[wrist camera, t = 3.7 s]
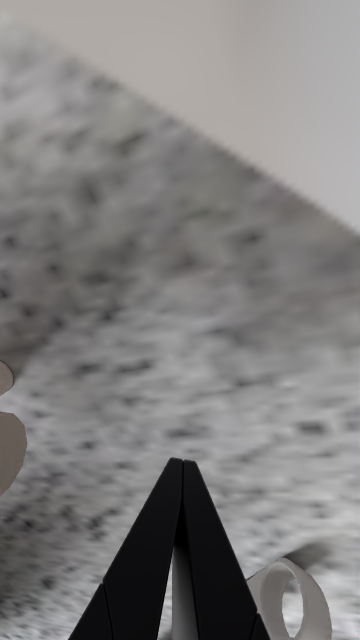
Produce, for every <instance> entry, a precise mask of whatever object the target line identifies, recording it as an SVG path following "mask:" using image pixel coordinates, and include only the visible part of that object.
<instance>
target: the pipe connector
mask: <svg viewBox="0 0 360 640" xmlns="http://www.w3.org/2000/svg"><path fill="white" fill-rule="evenodd" d="M12 384H13V375H12V372H11V371H10V369H9V368H8V367H7V366H6V364H4V363H3V362H1V361H0V396H1V395H2V394H4V393H5V392H7V391H8V390H9V389H10V388H11V387H12ZM26 448H27V438H26V433H25V427H24V425H23V424H22V422H21V421H20V420H19V419H18V418H17V417H16V416H15V415H14V414H12V413H5V412H0V495H1V494H2V493H4V492H5V491H6V490H7V489H8V488H9V487H10V486H11V484H12V482H13V481H14V479H15V477H16V475H17V474H18V472H19V470H20V469H21V467H22V465H23V461H24V456H25V452H26Z"/></svg>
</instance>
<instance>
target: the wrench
mask: <svg viewBox="0 0 360 640" xmlns="http://www.w3.org/2000/svg"><path fill="white" fill-rule="evenodd" d="M292 579H296V580H297V582H298V584H299V587H300V591H301V594H302V598H303V614H304V615H303V620H302V624H301V629H300V630H299V632H298V633H297V635H296V636H295V638H293V637H289V634H288V632H287V630H286V627H285V624H284V619H283V614H282V597H283V593H284V589H285V587H286V585H287V584H288V582H289V581H290V580H292ZM247 584H248V587H249V589H250V591H251V594H252V596H253V598H254V601H255V603H256V606H257V608H258V611H257V613H260V615H261V617H262V619H263V622H264V624H265V627H266V629H267V631H268V634H269V636H270V638H271V640H331V636H332V625H331V619H330V613H329V607H328V605H327V602H326V599H325V597H324V594H323V592H322V590H321V588H320V587H319V585H318V584H317V582H316V581H315V580H314V579H313V577H312V576H311V575H310V574H308V573H307V572H306V571H304V570H303V569H301V568H300V567H299V566H297V565H296V564H294V563H293V562H292V561H290V560H288V559H287V558H284V557H281V558H279V559H278V560H276V561H275V562H273V563H271V564H270V565H268V566H267V567H265V568H263V569H262V570H260V571H259V572H257V573H256V574H255V575H254V576H253V577H252V578H250V579H249V580H248V581H247Z"/></svg>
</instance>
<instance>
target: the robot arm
mask: <svg viewBox="0 0 360 640" xmlns="http://www.w3.org/2000/svg"><path fill="white" fill-rule="evenodd" d="M172 553H173V555H172ZM171 559H172V640H271V638H270V636H269V634H268V631H267V629H266V627H265V624H264V622H263V619H262V617H261V615H260V613H257V611H258V608H257V606H256V603H255V601H254V598H253V596H252V594H251V591H250V589H249V587H248V584H247V582H246V579H245V577H244V575H243V572H242V570H241V568H240V565H239V563H238V560H237V558H236V556H235V553H234V551H233V549H232V546H231V544H230V541H229V539H228V537H227V534H226V532H225V530H224V527H223V525H222V522H221V520H220V518H219V515H218V513H217V511H216V508H215V506H214V503H213V501H212V499H211V496H210V494H209V492H208V489H207V487H206V484H205V482H204V480H203V477H202V475H201V473H200V470H199V468H198V465H197V463H196V462H195V461H191V460H184V461H183V460H182V459H179V458H174V457H171V458H170V459H169V461H168V463H167V465H166V466H165V468H164V470H163V472H162V474H161V475H160V477H159V479H158V481H157V483H156V484H155V486H154V488H153V490H152V492H151V493H150V495H149V497H148V499H147V501H146V502H145V504H144V506H143V508H142V510H141V511H140V513H139V515H138V517H137V519H136V520H135V522H134V524H133V526H132V528H131V529H130V531H129V533H128V535H127V537H126V538H125V540H124V542H123V544H122V546H121V547H120V549H119V551H118V553H117V555H116V556H115V558H114V560H113V562H112V564H111V565H110V567H109V569H108V571H107V573H106V574H105V576H104V578H103V582H102V583H101V584H100V585H99V587H98V588H97V590H96V592H95V594H94V596H93V597H92V599H91V601H90V603H89V605H88V606H87V608H86V610H85V611H84V613H83V615H82V617H81V618H80V620H79V622H78V623H77V625H76V627H75V629H74V630H73V632H72V634H71V635H70V637H69V639H68V640H157V637H158V631H159V626H160V620H161V615H162V609H163V603H164V598H165V592H166V587H167V581H168V575H169V570H170V564H171Z"/></svg>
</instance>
